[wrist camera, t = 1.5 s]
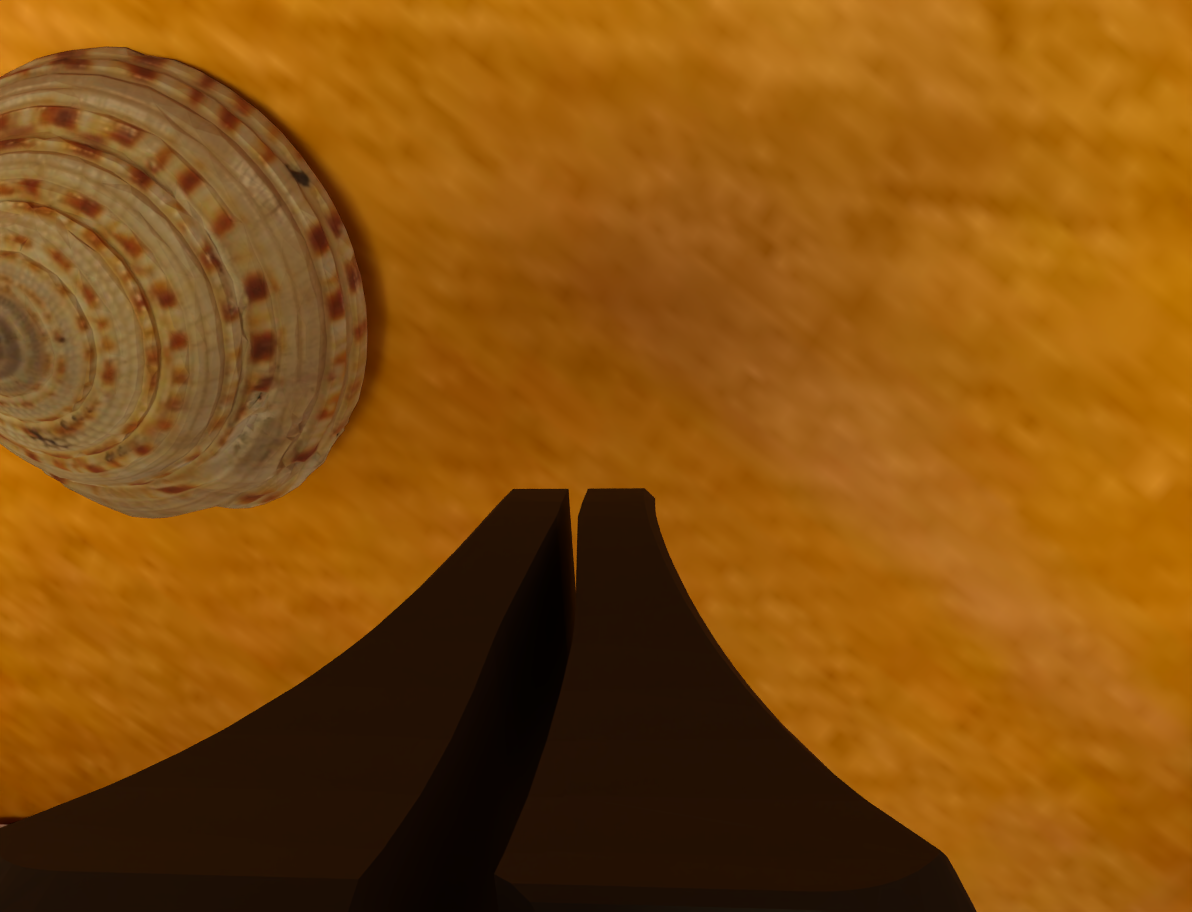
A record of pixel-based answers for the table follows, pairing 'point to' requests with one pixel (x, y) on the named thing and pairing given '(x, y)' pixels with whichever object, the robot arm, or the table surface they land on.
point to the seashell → (167, 289)
